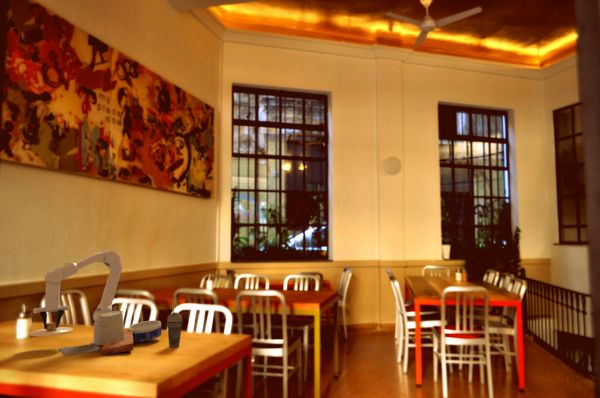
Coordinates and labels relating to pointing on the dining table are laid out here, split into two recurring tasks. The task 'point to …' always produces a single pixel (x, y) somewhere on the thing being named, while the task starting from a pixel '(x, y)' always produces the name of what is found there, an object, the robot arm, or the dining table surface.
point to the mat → (80, 349)
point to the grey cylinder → (112, 326)
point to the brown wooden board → (119, 344)
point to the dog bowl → (145, 330)
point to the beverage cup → (174, 329)
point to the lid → (51, 330)
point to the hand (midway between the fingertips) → (51, 328)
